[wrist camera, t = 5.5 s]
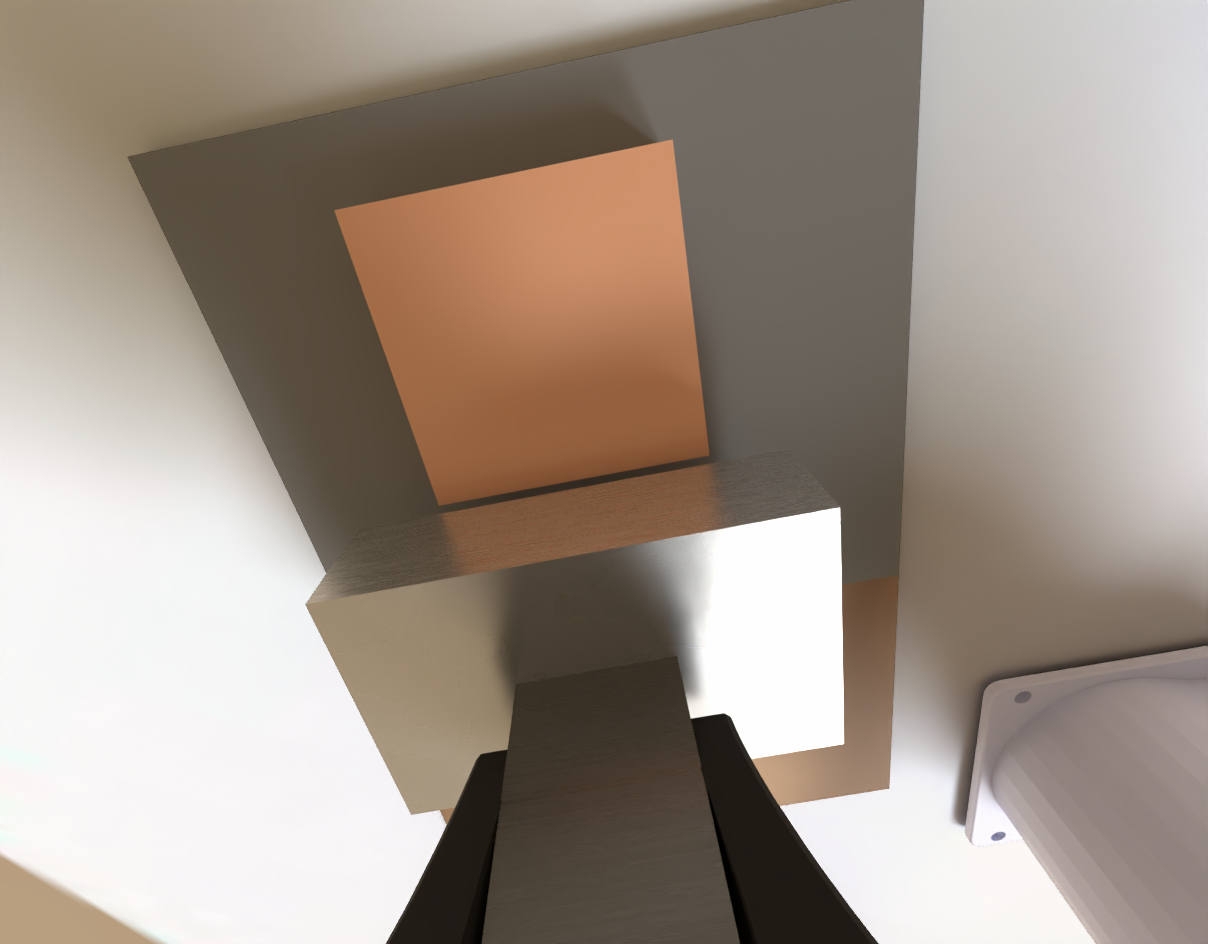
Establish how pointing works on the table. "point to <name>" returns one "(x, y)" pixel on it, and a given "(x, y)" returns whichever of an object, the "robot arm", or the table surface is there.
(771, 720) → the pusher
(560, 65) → the rubber mat
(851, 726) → the board
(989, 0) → the table surface
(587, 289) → the tile
